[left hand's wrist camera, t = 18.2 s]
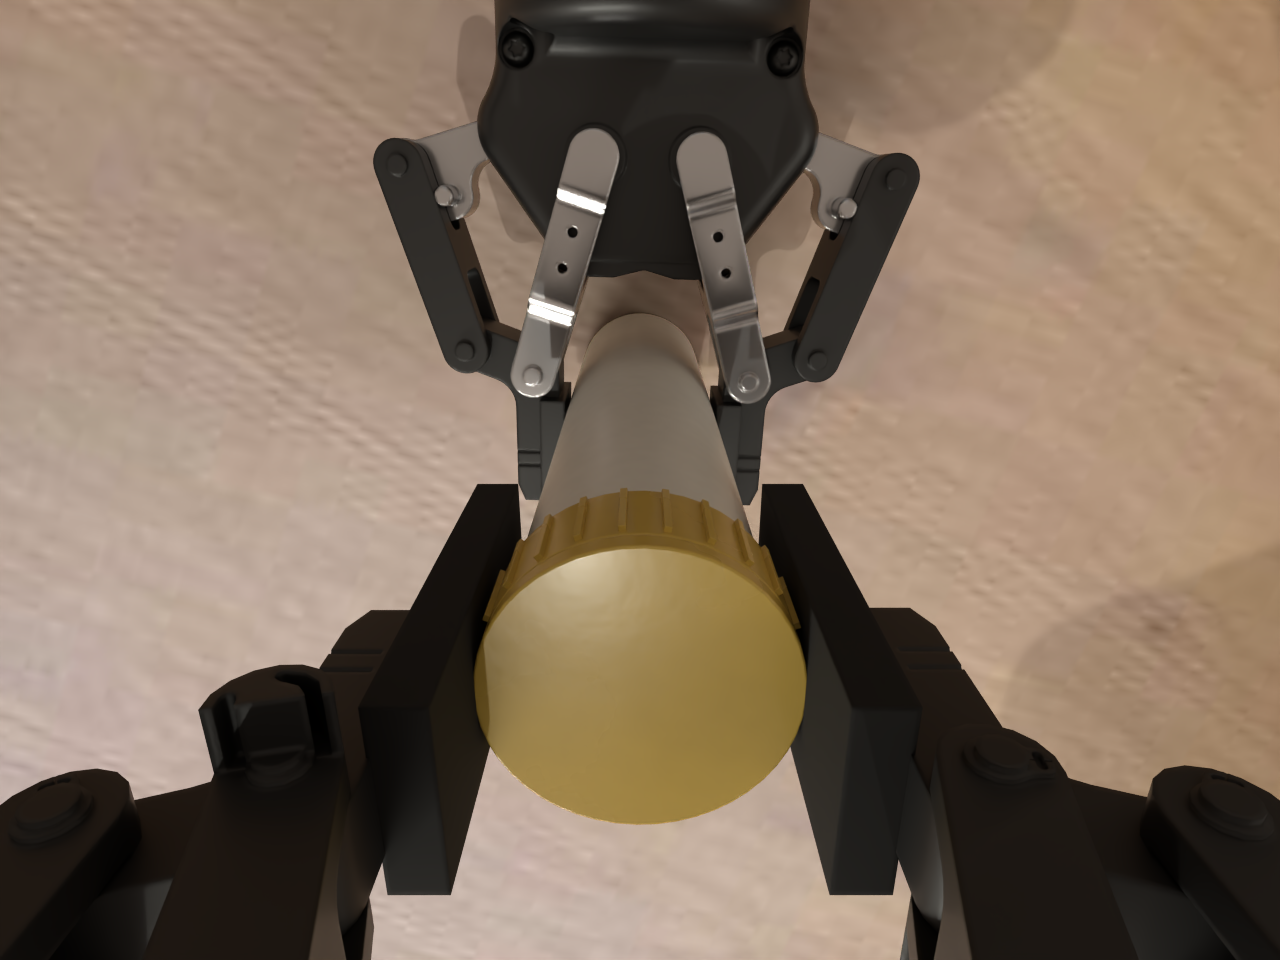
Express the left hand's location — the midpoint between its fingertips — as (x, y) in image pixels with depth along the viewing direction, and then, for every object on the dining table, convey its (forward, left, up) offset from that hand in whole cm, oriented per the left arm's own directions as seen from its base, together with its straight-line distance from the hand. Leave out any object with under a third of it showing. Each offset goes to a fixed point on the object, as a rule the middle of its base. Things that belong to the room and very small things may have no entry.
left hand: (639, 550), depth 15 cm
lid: (0, 0, +4) cm, 4 cm away
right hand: (-2, +2, -8) cm, 9 cm away
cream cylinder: (0, 0, -15) cm, 15 cm away
